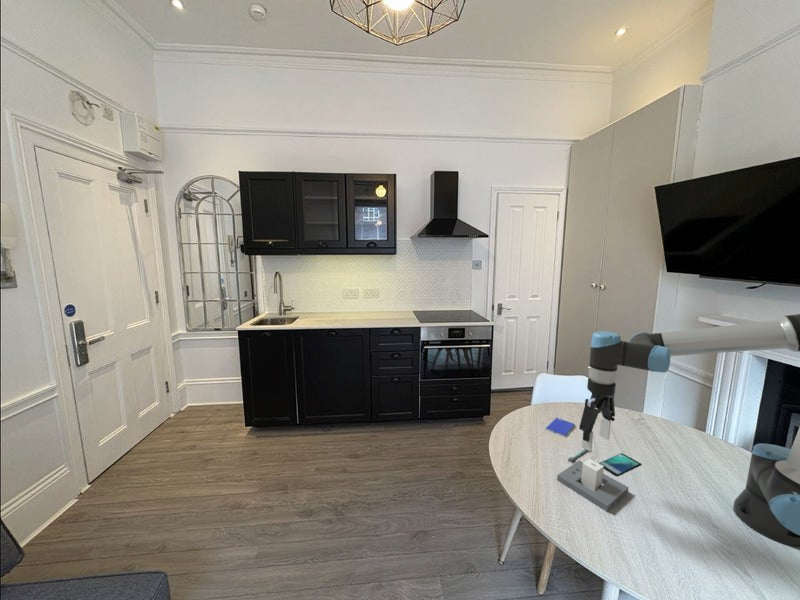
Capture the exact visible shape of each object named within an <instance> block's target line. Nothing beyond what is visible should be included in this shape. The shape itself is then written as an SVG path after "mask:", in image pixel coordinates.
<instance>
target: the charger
mask: <svg viewBox="0 0 800 600" xmlns="http://www.w3.org/2000/svg"><path fill="white" fill-rule="evenodd" d="M599 463H600V462H597V461H595V460H593V459H591V458H589V459H587V460H586V461H584V462H583V465H582V476H581V482H580V484H582V485H583V486H585V487H587V488H588V489H590V490H592V491H593V492H595V491H597V490H598V489H599V488H600V487H602V486H603V483H602V478H603V474H604V470H605V469H604V466H602V465H601V464H599Z"/></svg>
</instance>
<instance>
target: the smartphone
mask: <svg viewBox="0 0 800 600" xmlns="http://www.w3.org/2000/svg"><path fill="white" fill-rule="evenodd" d="M598 463H599V464H601V465H602V466H604V469H603V470H605V471H606V472H607V473H610V474H612V475H613V476H615V477H620V476H621V475H623V474H625V473H628V472H629V471H631V470H634V469H636V468H637V467H641V462H639V461H637V460H636V459H634V458H632V457H630V456H628V455H626V454H624V453H622V452H621V453H619V454H616V455H614V456H612V457H609V458H608V459H605V460H602V461H601V462H598Z"/></svg>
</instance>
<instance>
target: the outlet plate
mask: <svg viewBox="0 0 800 600" xmlns="http://www.w3.org/2000/svg"><path fill="white" fill-rule="evenodd" d="M583 463H584V462H583V461H581V460H577V461H576V462H574V463H573V464H571V465H570V466H569V467H567V468H566V469H564V470H562V471H561V472H559V473H558V474H557V476H556V477H557V478H556V481H558V482H559V483H561V484H562V485H564V486H566V487H567V488H569V489H570V490H572V491H573V492H575V493H576V494H578V495H580V496H581V497H583V498H584V499H586V500H588V501H589V502H591V503H592V504H594V505H596V506H597V507H598V508H601V509H602V510H603V511H605V512H609V511H610V510H611V509H612V508H613V507H614V506H615V505H616V504H618V503H619V502H620V500H621V499H623V498H624V497H625V496H626V495H627V494H629V486H627V485H626V484H623V483H622V482H619V481H618V480H616V479H614V478H612V477H610V476H608V475H607V474H604V473H603V478H602V487H600V488H599V489H598V490H597V491H595V492H593V491H592V490H590V489H588V488H587V487H585V486H583V485H582V484H581V476H582V465H583Z"/></svg>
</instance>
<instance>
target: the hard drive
mask: <svg viewBox="0 0 800 600" xmlns="http://www.w3.org/2000/svg"><path fill="white" fill-rule="evenodd" d="M575 426H576V425H575V423H574V422H570V421H568V420H564V419H561V418H559V417H555V418H554V419H553V420H552V421H551V422H550V423H549V424H548V425H547V426H546V427H545V431H547V430H548V432H550V433H553V434H556V435H558V436H561V437H562V438H566V437H567V436H568V435H569V433H570V432H571V431H572V430H573V429H574V427H575Z"/></svg>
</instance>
